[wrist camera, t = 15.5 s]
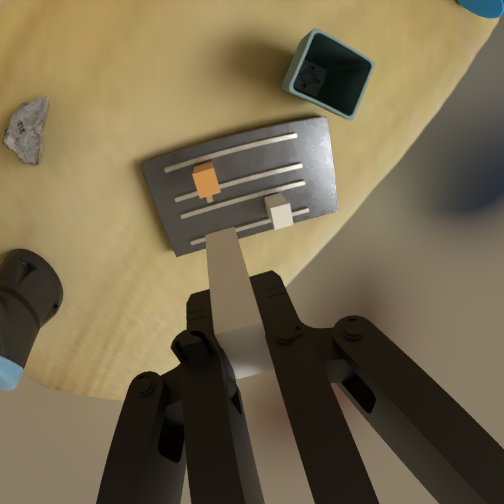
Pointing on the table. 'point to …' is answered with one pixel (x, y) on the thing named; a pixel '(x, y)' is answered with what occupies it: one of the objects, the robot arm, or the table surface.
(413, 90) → the table surface
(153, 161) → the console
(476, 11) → the alarm clock
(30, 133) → the mineral specimen
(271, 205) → the fader ivory
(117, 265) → the table surface
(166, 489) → the robot arm
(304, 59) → the flower pot
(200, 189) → the fader orange
